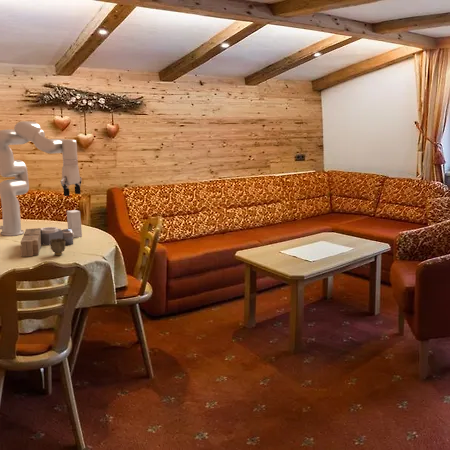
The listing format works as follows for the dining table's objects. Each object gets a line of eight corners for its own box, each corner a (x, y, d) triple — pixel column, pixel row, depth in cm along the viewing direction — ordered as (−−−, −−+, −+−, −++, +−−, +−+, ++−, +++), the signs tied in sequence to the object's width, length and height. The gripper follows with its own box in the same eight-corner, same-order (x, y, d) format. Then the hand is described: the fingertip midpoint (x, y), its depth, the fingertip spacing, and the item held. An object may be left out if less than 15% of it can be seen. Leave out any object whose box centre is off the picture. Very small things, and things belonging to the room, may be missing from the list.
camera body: (35, 243, 273) (34, 230, 271) (50, 239, 284) (49, 226, 282) (49, 245, 270) (48, 231, 268) (63, 240, 281) (63, 227, 279)
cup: (52, 253, 253) (51, 237, 252) (67, 253, 254) (67, 237, 252) (48, 257, 246) (48, 241, 244) (64, 257, 247) (63, 241, 245)
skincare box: (82, 237, 290) (81, 211, 288) (71, 238, 287) (70, 212, 284) (77, 234, 297) (76, 209, 294) (67, 235, 294) (66, 210, 291)
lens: (61, 244, 271) (60, 230, 269) (67, 242, 276) (66, 228, 274) (70, 245, 269) (69, 231, 267) (76, 243, 274) (75, 229, 272)
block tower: (38, 257, 247) (42, 242, 275) (37, 240, 246) (41, 227, 273) (21, 258, 245) (26, 242, 273) (20, 241, 243) (25, 227, 271)
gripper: (74, 161, 277) (76, 192, 280) (54, 163, 261) (56, 196, 264) (85, 162, 275) (87, 193, 278) (66, 164, 259) (68, 197, 262)
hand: (72, 194), depth 271 cm, fingers open, 9 cm apart
